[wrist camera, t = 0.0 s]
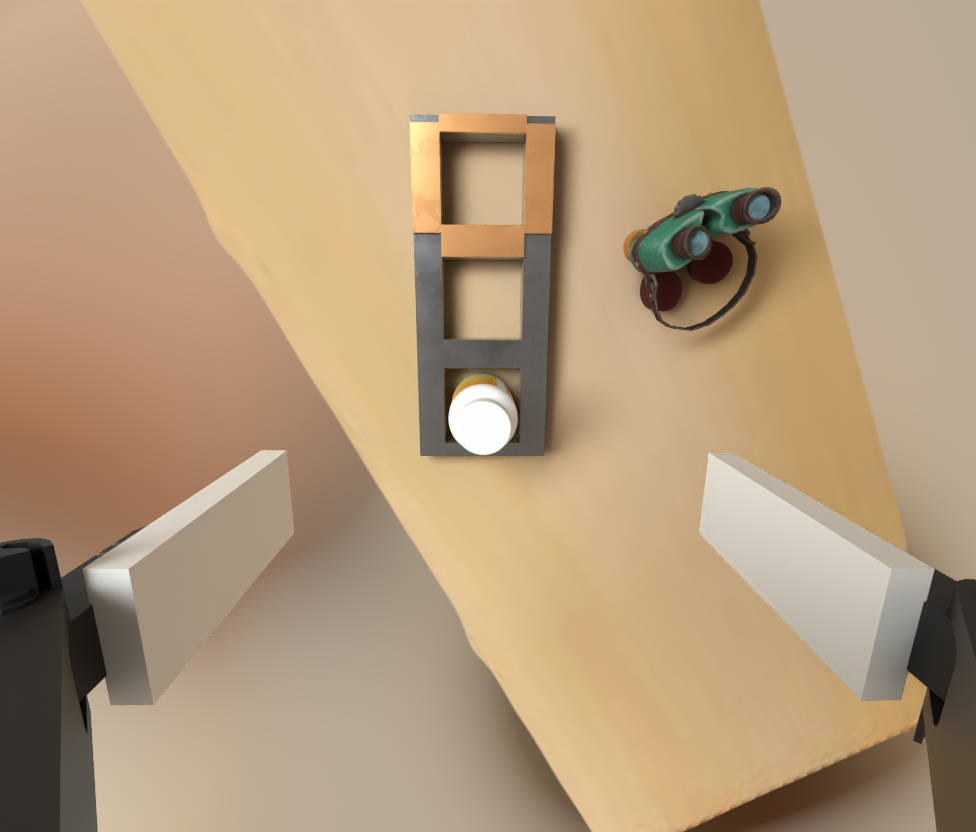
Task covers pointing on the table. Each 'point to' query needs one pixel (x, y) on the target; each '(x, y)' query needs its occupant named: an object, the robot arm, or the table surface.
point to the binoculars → (698, 245)
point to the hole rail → (482, 244)
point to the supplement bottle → (482, 414)
